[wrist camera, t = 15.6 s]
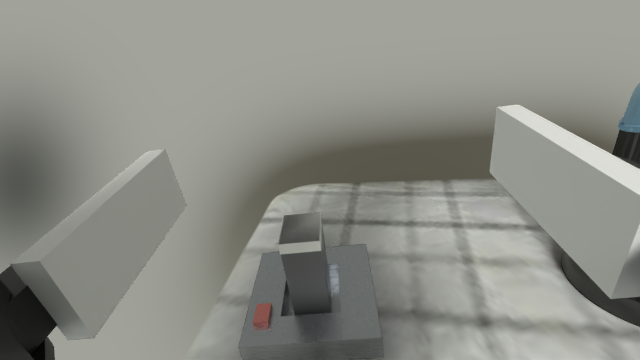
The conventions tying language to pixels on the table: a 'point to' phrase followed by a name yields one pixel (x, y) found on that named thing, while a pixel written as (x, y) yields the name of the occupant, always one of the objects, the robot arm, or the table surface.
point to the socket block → (314, 329)
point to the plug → (305, 263)
